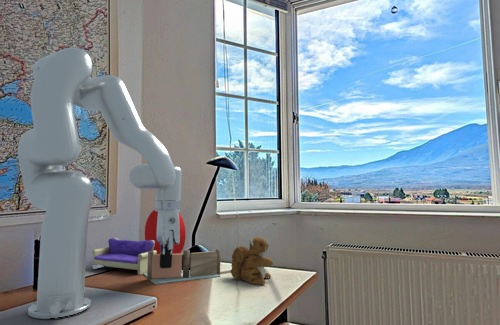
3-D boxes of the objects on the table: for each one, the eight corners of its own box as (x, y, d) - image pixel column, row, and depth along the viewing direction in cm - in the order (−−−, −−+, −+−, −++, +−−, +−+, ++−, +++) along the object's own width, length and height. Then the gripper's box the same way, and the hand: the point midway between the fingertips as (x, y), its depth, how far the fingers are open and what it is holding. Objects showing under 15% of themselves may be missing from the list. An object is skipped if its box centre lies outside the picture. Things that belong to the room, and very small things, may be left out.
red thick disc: (184, 262, 134) (186, 209, 136) (171, 264, 130) (173, 209, 131) (156, 255, 148) (157, 207, 149) (143, 256, 143) (145, 207, 145)
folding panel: (181, 277, 109) (182, 251, 110) (147, 278, 106) (147, 252, 107) (181, 276, 111) (181, 250, 111) (147, 277, 108) (148, 251, 109)
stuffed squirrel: (266, 286, 102) (266, 240, 103) (222, 281, 108) (223, 237, 109) (276, 278, 112) (276, 236, 113) (235, 274, 117) (236, 233, 118)
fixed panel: (221, 274, 115) (221, 248, 116) (183, 279, 109) (184, 251, 109) (218, 273, 117) (219, 247, 117) (181, 277, 110) (182, 250, 111)
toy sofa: (90, 269, 120) (91, 239, 121) (108, 265, 128) (109, 236, 129) (140, 276, 112) (141, 243, 113) (156, 270, 121) (157, 240, 121)
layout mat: (220, 276, 113) (220, 275, 113) (154, 284, 102) (154, 283, 102) (203, 267, 125) (203, 266, 125) (143, 274, 114) (143, 272, 114)
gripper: (187, 207, 103) (185, 271, 101) (173, 205, 116) (171, 262, 114) (161, 207, 99) (158, 274, 98) (150, 205, 112) (147, 263, 111)
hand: (165, 267), depth 106 cm, fingers closed
